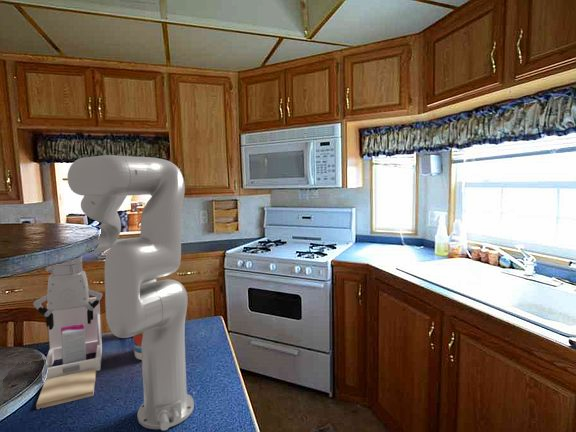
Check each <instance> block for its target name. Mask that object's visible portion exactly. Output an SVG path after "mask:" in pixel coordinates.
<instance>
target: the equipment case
mask: <svg viewBox="0 0 576 432" xmlns="http://www.w3.org/2000/svg"><path fill="white" fill-rule="evenodd" d="M95 300H96V297H95V296H92V297H89V301H90V302H91V303H93V302H94V301H95ZM100 306H101V305H100V303H99V304H98V305H97V306H96V307H95V308H94V309H93V320H91V324H88V320H87V310H88V309H87V308H86V307H85V306H83V307H78V308H71V309H63V310H53V311H52V314H53V320H54V326H53V329H52V330H49V326H47V329H48V340H49V341H48V342H49V350H48V353H47V355H46V358H45V360H47V365H48V373H47V378H46V379H51V378H55V377H60V376H65V375H69V374H74V373H79V372H83V371H88V370H93V369H96V372H98V371H101V365H102V353H103V342H102V325H101V324H102V322H101V307H100ZM46 309H48V303H47V304H46ZM77 324H83V327H84V329H85V347H86V355H89V354H93V353H95V357H94V358H89V359H86V360H84V361H79V362H74V363H69V364H64V365H63V364H60V365H54V361H56V360H57V361H58V360H62V340H61V328H62V327H67V326H72V325H77ZM53 365H54V366H53Z"/></svg>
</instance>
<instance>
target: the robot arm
mask: <svg viewBox="0 0 576 432" xmlns="http://www.w3.org/2000/svg"><path fill="white" fill-rule="evenodd" d="M67 184H68V186H69V188H70V190H71V191H72V192H73V193H74V194H76V195H79V196H83V197H82V199H81V202H80V208H81V211H82V212H83V214H84V215H85V216H86V217H88V218H89V219H91V220H94V221H95V222H99V223H101V224H100V225H98V226H95V227H99V228H100V229H101V234H100V242H99V245H98V247H97V248H96V249H95V250H94V251H92V252H90V253H87V254H85V255H84V256H87V255H90V254H96V253H102V252H106V251H108V252H107V253H106V256H105V260H104V294H103V293H102V292H100V291H96V290H94V289H93V290H92V289H91V288H90V287H89V283H88V277H87V274H86V273H87V272H86V271H85V270H84V268H83V255H82V256H81V257H79V258H77V259H74V260H72V261H69V262H66V263H62V264H56V265H52V264H51V265H52V266H51V265H48V266H46V267H47V268H46V267H45V272H49V273H50V275H49V276H48V279H47V291H46V292H47V294H46V295H43V296H42V297H40V298H38V299H36V300H35V301H34V302H33V303H32V305H33V306H34V308H36V310H37V312H38V313H40V314H42V315H43V316H44V317H45V321H46V322H45V323H46V327H48V326H49V330H52V329H53V326H54V320H53V314H52V311H53V310H63V309H71V308H78V307H83V306H85V307H86V308H87V309H88V310H87V320H88V324H91V320H93V309H94V308H95V307H96V306H97V305H98V304H99V305H100V301H101V300H102V297H103V295H105V297H104V299H105V300H104V301H105V302H104V305H105V317H106V322H107V326H108V329H109V330H110V332H111V333H112V334H113V336H115V337H117V338H120V339H126V338H131V337H132V338H133V336H135V335H137V334H139V333H142V332H144V334H143V338H142V344H141V351H142V360H141V367H142V370H141V371H142V386H143V390H142V391H143V403H142V404H141V405H140V407H139V408H138V411H137V416H136V417H137V421H138V424H140V425H141V426H142V427H144V428H146V429H149V430H161V431H164V432H165V431H167V430H168V429H169V428H171V427H172V428H173V427H174V426H177V425H179V424H181V423H182V422H184V421H186V419H189V416H191V414H192V413H193V411H194V408H195V402H194V397H192V395H190V393H189V394H188V393H187V368H186V367H187V366H186V342H185V341H186V338H185V337H186V336H185V334H186V333H185V324H186V317H187V311H188V303H189V302H188V300H189V298H188V293H187V290H186V288H185V286H184V285H183V283H181V282H179V281H178V280H175V279H171V278H170V279H161V278H163V277H167V276H169V275H172V274H174V273H176V272H177V271H178V270H179V268H180V266H181V261H182V258H181V257H182V212H183V204H184V199H185V194H186V193H185V192H186V183H185V178H184V176H183V173H182V172H181V170H180V169H179V167H178V166H177V165H176V164H174V163H173V162H172V161H170V160H167V159H164V158H158V157H150V156H148V157H147V156H133V155H132V156H131V155H130V156H129V155H115V154H114V155H113V154H111V155H110V154H105V155H103V154H102V155H97V156H96V155H95V156H94V155H93V156H86V157H85V156H84V157H80V158H77V159H76V160H75V161H73V162H72V164H71V165H70V166H69V168H68V172H67ZM141 195H143V196H145V195H150V196H151V197H150V198H149V200H148V201H147V202H146V203H145V205H144V208H143V209H142V212H141V215H140V234H139V237H136V238H130V239H125V240H124V239H123V240H121V241H118V242H116V241H117V239H119V236H120V235H121V231H122V223H121V218H120V215H119V213H118V211H119V210H120V207H121V206H122V205H123V204H124V201H125V199H126V198H127V197H128V196H141ZM154 279H156V282H152V283H149V284H146V285H143V286H141V283H144V282H147V281H151V280H154ZM157 279H159V280H157ZM90 296H92V297H96V300H95V301H94V302H93V303H91V302H90V301H89V298H90ZM45 302H47V304H48V309H47V307H45V306H43V305H42V303H45ZM49 330H48V331H49Z"/></svg>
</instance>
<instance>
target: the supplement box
mask: <svg viewBox="0 0 576 432" xmlns="http://www.w3.org/2000/svg"><path fill="white" fill-rule="evenodd" d="M61 340H62V359H61V360H62V361H61V362H62V365H64V364H69V363H74V362H79V361H84V360H87V354H86V347H85V329H84V327H83V324H77V325H72V326H67V327H62V328H61Z"/></svg>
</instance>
